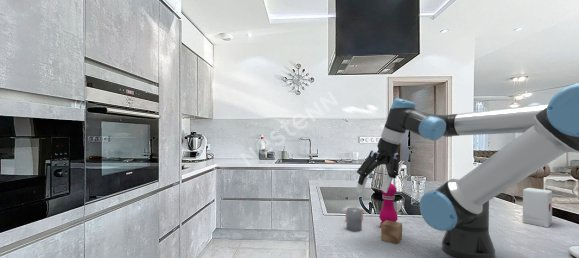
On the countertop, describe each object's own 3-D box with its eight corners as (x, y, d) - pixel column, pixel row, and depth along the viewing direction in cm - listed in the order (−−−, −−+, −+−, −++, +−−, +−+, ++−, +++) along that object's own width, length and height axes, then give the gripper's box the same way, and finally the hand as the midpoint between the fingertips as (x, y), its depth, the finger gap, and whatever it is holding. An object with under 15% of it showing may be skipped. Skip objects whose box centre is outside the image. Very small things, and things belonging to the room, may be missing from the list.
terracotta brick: (362, 220, 132) (363, 209, 132) (353, 224, 126) (353, 212, 126) (355, 218, 135) (355, 207, 135) (345, 221, 129) (345, 210, 129)
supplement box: (548, 228, 124) (548, 192, 124) (522, 222, 131) (522, 189, 131) (552, 223, 130) (552, 190, 130) (527, 219, 137) (527, 187, 137)
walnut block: (402, 239, 109) (402, 223, 109) (398, 244, 104) (398, 227, 104) (385, 235, 112) (386, 220, 112) (381, 240, 107) (381, 224, 107)
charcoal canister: (364, 229, 119) (364, 209, 119) (356, 232, 115) (356, 212, 115) (351, 225, 123) (351, 206, 123) (343, 229, 119) (343, 209, 119)
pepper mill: (377, 228, 120) (378, 180, 120) (380, 223, 126) (381, 177, 126) (396, 231, 116) (396, 181, 117) (398, 226, 123) (399, 179, 123)
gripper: (404, 139, 116) (386, 186, 121) (359, 134, 103) (341, 187, 108) (419, 146, 110) (400, 195, 115) (374, 142, 97) (354, 197, 102)
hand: (371, 191), depth 112 cm, fingers open, 13 cm apart
